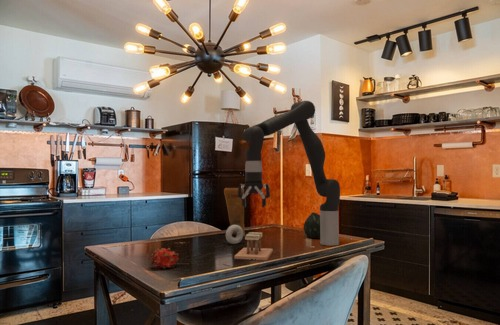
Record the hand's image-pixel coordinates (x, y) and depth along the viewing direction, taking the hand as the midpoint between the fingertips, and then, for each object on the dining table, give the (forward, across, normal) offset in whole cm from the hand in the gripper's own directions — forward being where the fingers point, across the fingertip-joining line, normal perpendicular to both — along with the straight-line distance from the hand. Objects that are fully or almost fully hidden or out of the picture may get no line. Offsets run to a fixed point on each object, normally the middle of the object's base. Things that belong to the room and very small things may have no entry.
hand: (254, 207), depth 167 cm
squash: (+22, +26, +50) cm, 60 cm away
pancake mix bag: (+22, -22, +53) cm, 61 cm away
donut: (+22, -15, +23) cm, 35 cm away
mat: (+21, 0, 0) cm, 21 cm away
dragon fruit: (+21, -30, -28) cm, 46 cm away
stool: (+20, 0, 0) cm, 20 cm away
